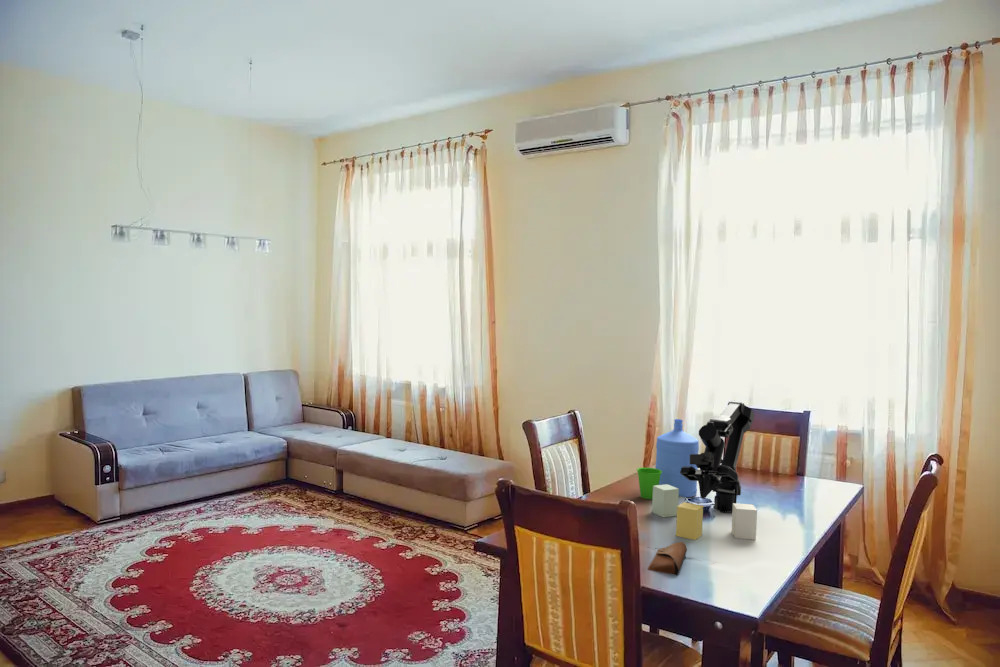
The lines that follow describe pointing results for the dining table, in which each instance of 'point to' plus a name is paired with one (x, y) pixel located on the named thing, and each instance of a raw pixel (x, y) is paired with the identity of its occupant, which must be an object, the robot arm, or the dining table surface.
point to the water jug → (676, 458)
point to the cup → (648, 481)
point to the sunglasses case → (669, 559)
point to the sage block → (665, 500)
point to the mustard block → (689, 520)
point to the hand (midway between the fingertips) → (702, 498)
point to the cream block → (744, 521)
